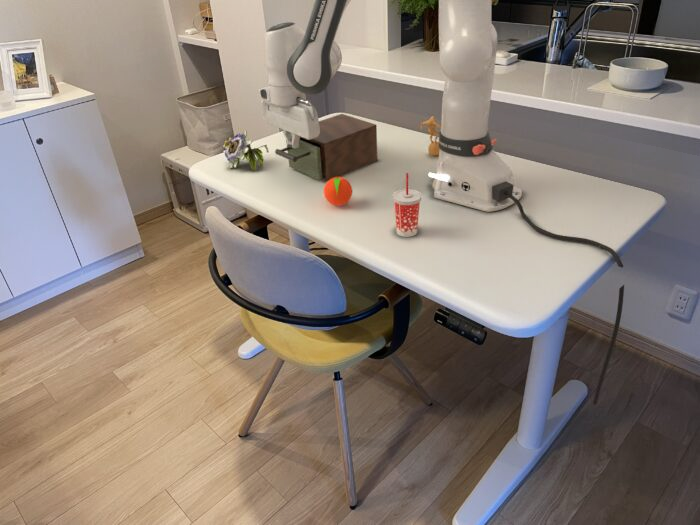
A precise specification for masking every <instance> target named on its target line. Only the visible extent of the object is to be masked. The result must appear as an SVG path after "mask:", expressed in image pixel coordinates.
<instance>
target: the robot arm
mask: <svg viewBox="0 0 700 525" xmlns="http://www.w3.org/2000/svg"><path fill="white" fill-rule="evenodd" d="M350 2H351V0H314V4H313V7H312V10H311V14H310V16H309V20H308V23H307V26H306V29H304V28H302V27H300V26H299V25H298V24H297V23H296V22H292V21H291V22H289V21H287V22H283V23H282V22H281V23H279V24H278V23H277V24H276V25H273V26H271V27H269V28H268V29H267V30H266V32H265V33H264V42H263V43H264V47H263V48H264V59H265V66H266V69H267V71H268V80H267V85H268V86H264V87H261V88H259V89H258V96H259V98H260V105H261V113H262V117H263V120H264V122H265V123H266V124H268V125H270V126H273V127H275V128H278V129H280V130H282V134H283V136H284V138H285V141H286V140H287V143H286V146H287V145H288V146H290V147H292V148H294V149H295V148H298V147H299V139H300V137H303V138H306V139H308V140H310V139H313V138H316V137H318V136H319V134H320V127H319V121H320V120H319V115H318V112H317V110H316V108H315V106H314V105H313V104H312V101H310V100H309V99H307V95H310V96H311V95H318V94H320V93H322V92H324V91H325V89H326V88H327V87H328V86H329V84H330V82H331V80H332V78H334V76H335V74H336V73H337V72H338V71H339V69H340V67H341V65H342V60H343V55H342V51H341V49H340V46H339V45H338V44H337V43H336V41H335V38H336V35H337V32H338V30H339V27H340V23H341V20H342V17H343V15H344V14H345V11H346V8H347V7H348V5H349V4H350ZM498 38H499V37H498V33H497V29H496V27H495V26H494V25H493V23H492V0H438V50H439V66H440V69H441V71H442V73H443V74H444V76H445V79H444V86H443V93H442V99H441V117H440V119H441V120H440V126H441V129H440V130H439V132H438V134H439V135H438V139H437V140H438V141H437V142H439V143H438V146H439V148H440V151H439V155H438V158H437V159H438V160H437V166H436V169H435V170H436V171H435V173H432V172H429V173H428V177H429V178H433V181H432V184H431V187H432V190H433V191H434V192H433V197H434V198H435V199H437V200H442V201H445V202H450V203H453V204H456V205H460V206H464V207H468V208H471V209H475V210H479V211H483V212H487V213H490V212H491V213H492V212H497V211H501V210H503V209H506V208H508V207H510V206H513V205H514V204H516V206H517V208H518V211H519V214H520V215H521V217H522V218H523V219H524V221H525V222H526V223H527V224H528V225H529V226H530V227H531V228H532V229H533V230H535V231H536V232H537V233H540V234H542V235H545V236H548V237H550V238H553V239H556V240H562V241H568V242H570V241H571V242H577V243H584V244H587V245H592V246H594V247H597V248H599V249H601V250H603V251H606V252H608V253H609V254H610V255H611V256H612V257H613V259H614V260H615V261H616V265H617V267H619V268H624V264H623V262H622V260H621V258H620V256H619V254H617V252H616V251H615V250H614V249H613V248H611V247H609V246H608V245H605V244H603V243H600V242H598V241H596V240H593V239H588V238H584V237H578V236H577V237H576V236H569V235H563V234H557V233H553V232H550V231H548V230H545V229H543V228H542V227H540V226H537V225H536V224H534V222H532V221H531V219H530V218H529V216H527V214H526V212H525V211H524V208H523V205H522V203H521V202H520V201H519V200H520V199H522V196H523V190H522V189H521V188H519V187H518V186H515V185H514V175H513V171H512V169H511V168H510V167H509V166H508V165H507V164H506V163H505V161H504V160H502V158H501V157H500V156H499V154H498V153H496V151H495V150H494V148H493V145H496V144H497V138H493V139H491V135H490V132H489V121H490V110H491V99H492V93H493V84H494V77H495V76H494V75H495V69H496V68H495V67H496V60H497V51H498V41H499V39H498ZM618 289H619V290H618V301H617V310H616V316H615V322H614V326H613V331H612V335H611V339H610V342H609V346H608V350H607V353H606V356H605V359H604V362H603V366H602V369H601V372H600V375H599V379H598V381H597V386H596V390H595V392H594V396H593V401H592V405H595V406H597V405H598V401H599V397H600V394H601V390H602V387H603V383H604V380H605V377H606V373H607V370H608V366H609V364H610V361H611V359H612V355H613V351H614V347H615V344H616V340H617V336H618V333H619V328H620V324H621V318H622V313H623V305H624V296H625V295H624V294H625V284H622V286H621V287H619V288H618Z"/></svg>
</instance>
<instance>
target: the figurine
mask: <svg viewBox="0 0 700 525" xmlns="http://www.w3.org/2000/svg"><path fill="white" fill-rule="evenodd" d="M424 125H427V128H428V129H427V132H428V134H429V135H430V136H429V140H430V143H429V145H428V149H427V151H428V154H430V155H431V156H433V157H437V156H439V151H440V148H439V146H438V143H439V142H438V141H437V140H438V139H439V132H438V130H437V129H435V128H436V127H437V128H439V129H440V130H441V125H440V124H438V123H437V122H436V120H435V116H434V115H432V116H431V117H430V118H429V119H427V120H425V121H423V122H421V123H420V127H419V128H420V129H419V130H420V131H422V130H423V126H424ZM433 135H434V136H435V137H434V140H433Z"/></svg>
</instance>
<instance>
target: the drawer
mask: <svg viewBox="0 0 700 525" xmlns="http://www.w3.org/2000/svg"><path fill="white" fill-rule="evenodd" d="M285 142H286V147H284V148H282V149H281V148H280V149H279V148H276V149H275V151H274V153H275V155H278V156H279V157H282V158H284V159H286V160H288V164H289V165H288V166H289V168H291V169H293V170H296V171H298V172H299V173H302V174H304V175H307V176H309V177H311V178H313V179H316V180H318V181H321V180H323V179H322V175H325V169H324V157H323V146H322V145H319V144H317V143H314V142H312V141H309V140H306V139H304V138H301V137H300V139H299V147H298V148H295V149H294V148H292V147H290V146H288V145H287V140H286V139H285Z"/></svg>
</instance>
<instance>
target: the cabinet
mask: <svg viewBox="0 0 700 525" xmlns="http://www.w3.org/2000/svg"><path fill="white" fill-rule="evenodd" d="M319 127H320V134H319V136H318V137H316V138H313V139H310V140H309V141H312V142H314V143H317V144H319V145H322V146H323V157H324V169H325V175H322V179H321V180H323V181H325V182H328V181H329V180H330V179H332V178H334V177H343V176H344V175H346V174H350V173H351V172H354V171H356V170H359V169H362V168H364V167H365V166H366V167H367V166H368V165H371V164H373V163H376V162H378V134H377V133H378V132H377V131H378V130H377V124H376V123H373V122H369V121H366V120H362V119H359V118H357V117H353V116H350V115H347V114H344V113H340V114H337V115H333V116H330V117H328V118H325V119H322V120H319ZM301 138H303V137H301ZM304 139H306V138H304ZM306 140H308V139H306Z"/></svg>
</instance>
